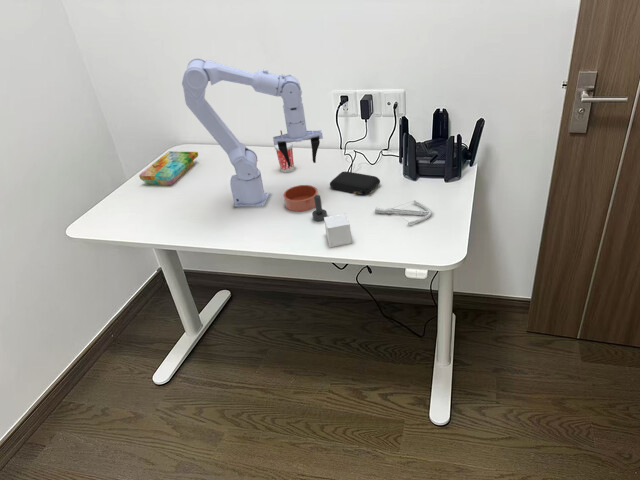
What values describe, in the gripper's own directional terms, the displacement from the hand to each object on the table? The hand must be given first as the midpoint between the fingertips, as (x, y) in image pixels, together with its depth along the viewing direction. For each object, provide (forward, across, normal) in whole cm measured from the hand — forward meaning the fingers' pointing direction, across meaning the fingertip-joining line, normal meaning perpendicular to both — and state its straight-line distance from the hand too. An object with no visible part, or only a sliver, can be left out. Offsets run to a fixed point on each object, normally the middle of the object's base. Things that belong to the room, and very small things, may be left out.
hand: (301, 163), depth 165 cm
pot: (+10, -2, -7) cm, 13 cm away
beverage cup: (+11, -5, +20) cm, 23 cm away
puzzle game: (+11, -46, +30) cm, 56 cm away
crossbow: (+11, +26, -22) cm, 36 cm away
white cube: (+11, +6, -30) cm, 32 cm away
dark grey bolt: (+10, +3, -17) cm, 20 cm away
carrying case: (+11, +15, -1) cm, 19 cm away
